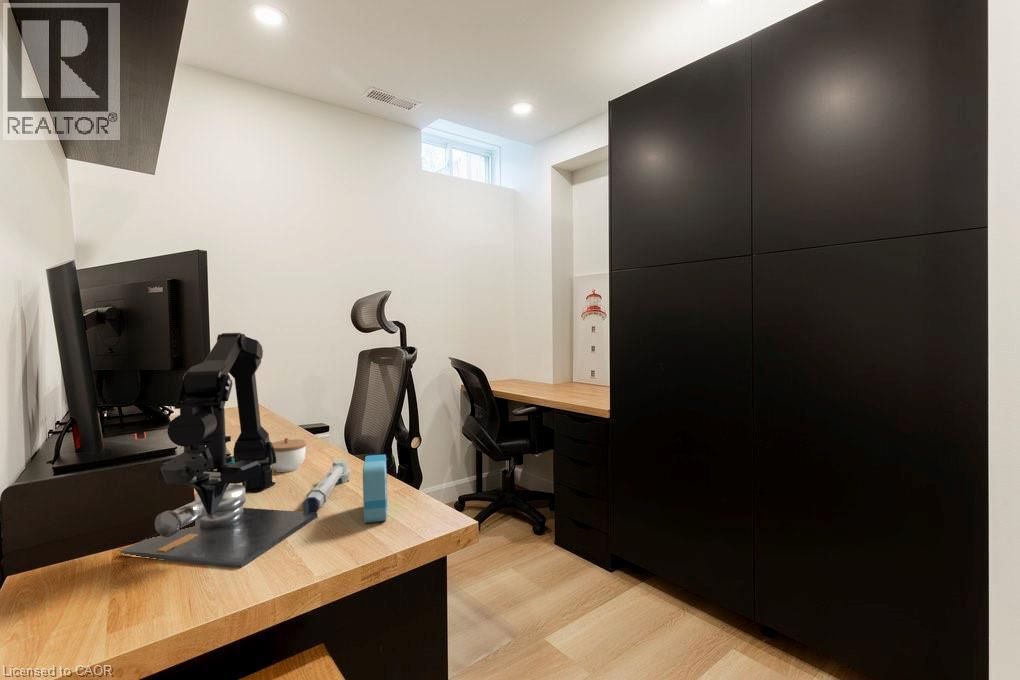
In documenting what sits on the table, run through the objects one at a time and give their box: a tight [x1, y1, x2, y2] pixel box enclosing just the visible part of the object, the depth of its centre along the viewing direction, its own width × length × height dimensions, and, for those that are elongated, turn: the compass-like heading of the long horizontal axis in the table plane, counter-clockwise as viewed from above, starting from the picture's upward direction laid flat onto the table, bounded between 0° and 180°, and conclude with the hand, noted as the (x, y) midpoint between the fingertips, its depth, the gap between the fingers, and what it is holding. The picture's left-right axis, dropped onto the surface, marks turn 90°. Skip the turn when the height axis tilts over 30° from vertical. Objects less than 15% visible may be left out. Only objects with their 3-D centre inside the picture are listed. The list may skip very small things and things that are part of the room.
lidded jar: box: [271, 437, 307, 473], centre depth 140 cm, size 11×11×9 cm
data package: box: [362, 454, 388, 524], centre depth 105 cm, size 12×4×12 cm, turn 14°
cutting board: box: [119, 504, 318, 569], centre depth 95 cm, size 26×22×4 cm
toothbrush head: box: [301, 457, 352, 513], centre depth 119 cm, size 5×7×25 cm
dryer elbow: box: [154, 483, 247, 537], centre depth 96 cm, size 18×9×5 cm, turn 171°
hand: (211, 513), depth 92 cm, fingers closed
